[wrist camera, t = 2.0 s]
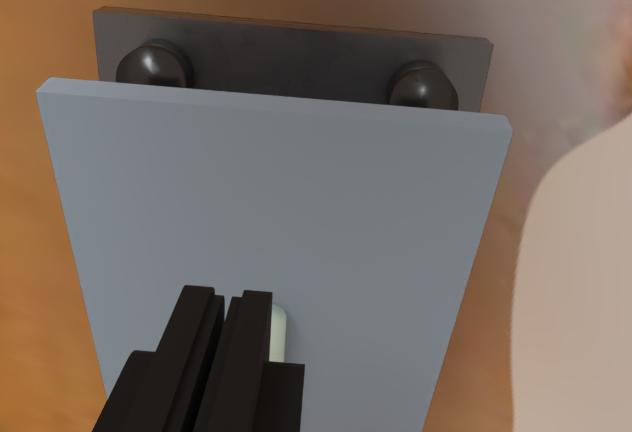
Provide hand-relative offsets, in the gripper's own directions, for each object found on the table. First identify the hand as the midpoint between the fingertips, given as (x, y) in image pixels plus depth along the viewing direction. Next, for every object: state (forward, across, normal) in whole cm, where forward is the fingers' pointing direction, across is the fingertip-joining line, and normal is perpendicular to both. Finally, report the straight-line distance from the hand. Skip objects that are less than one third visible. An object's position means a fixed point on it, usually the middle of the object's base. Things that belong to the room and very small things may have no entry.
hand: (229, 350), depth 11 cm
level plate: (+13, 0, +7) cm, 15 cm away
